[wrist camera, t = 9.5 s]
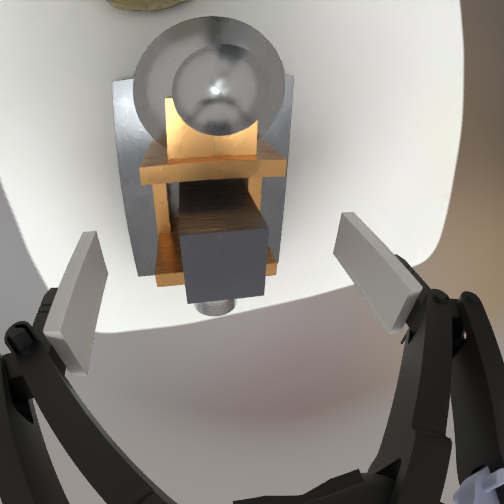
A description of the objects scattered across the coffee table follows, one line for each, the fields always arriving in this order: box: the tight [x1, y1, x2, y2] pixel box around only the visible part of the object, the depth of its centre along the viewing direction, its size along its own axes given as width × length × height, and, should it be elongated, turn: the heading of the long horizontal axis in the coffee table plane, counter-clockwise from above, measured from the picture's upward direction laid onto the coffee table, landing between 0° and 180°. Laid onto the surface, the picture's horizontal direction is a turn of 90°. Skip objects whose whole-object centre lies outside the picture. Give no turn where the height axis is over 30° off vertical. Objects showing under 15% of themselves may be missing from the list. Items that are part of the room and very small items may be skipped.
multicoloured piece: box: [112, 16, 294, 316], centre depth 19 cm, size 22×14×12 cm, turn 178°
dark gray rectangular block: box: [179, 178, 269, 304], centre depth 19 cm, size 4×4×12 cm
